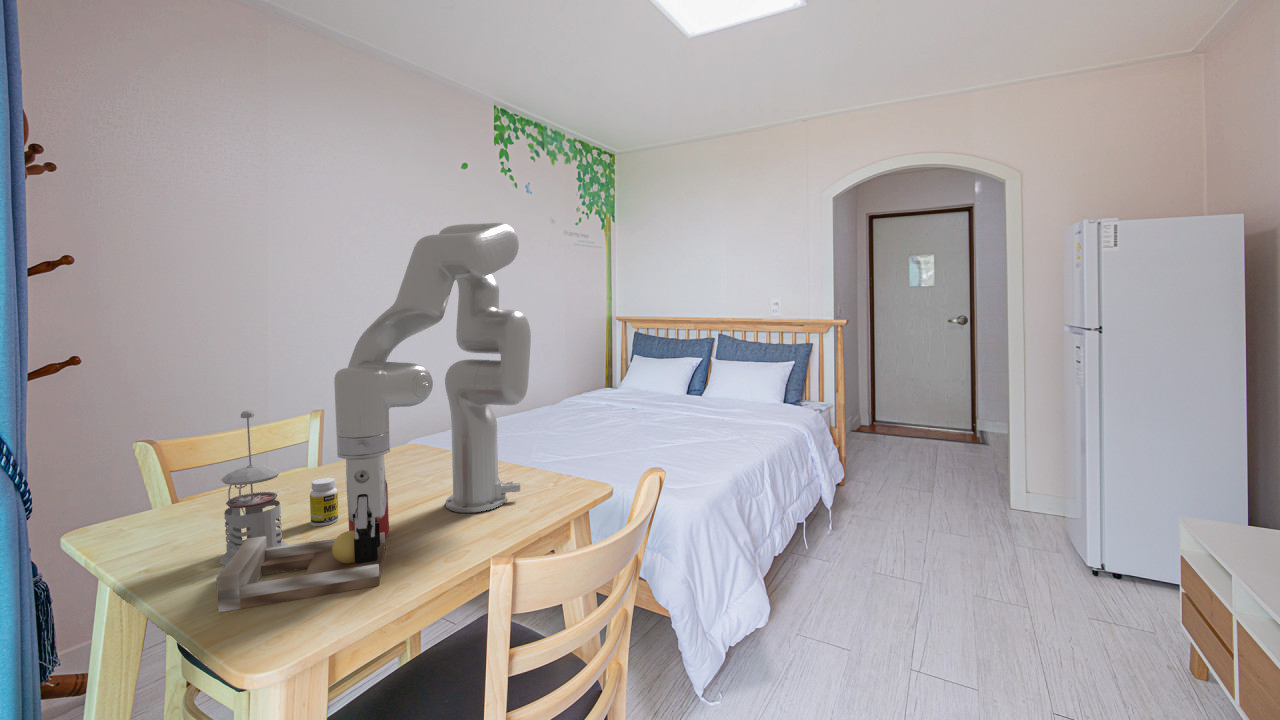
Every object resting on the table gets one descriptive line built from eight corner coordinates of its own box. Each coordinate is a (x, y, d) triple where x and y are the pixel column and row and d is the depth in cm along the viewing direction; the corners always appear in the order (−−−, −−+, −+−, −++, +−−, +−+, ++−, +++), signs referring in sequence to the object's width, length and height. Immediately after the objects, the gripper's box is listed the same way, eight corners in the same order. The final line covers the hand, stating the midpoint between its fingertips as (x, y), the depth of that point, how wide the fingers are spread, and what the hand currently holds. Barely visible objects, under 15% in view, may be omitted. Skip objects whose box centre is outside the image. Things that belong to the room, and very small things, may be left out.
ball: (372, 548, 89) (364, 521, 88) (369, 562, 85) (361, 534, 84) (339, 559, 88) (330, 531, 87) (334, 574, 83) (325, 545, 82)
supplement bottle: (325, 527, 104) (323, 485, 103) (305, 525, 104) (303, 483, 104) (344, 518, 108) (342, 477, 108) (324, 516, 109) (322, 476, 108)
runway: (385, 548, 94) (384, 521, 94) (379, 585, 81) (377, 553, 81) (249, 568, 87) (247, 538, 86) (218, 612, 74) (216, 577, 73)
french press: (235, 571, 86) (226, 418, 84) (204, 555, 92) (194, 411, 90) (300, 548, 94) (293, 408, 92) (267, 535, 100) (260, 403, 98)
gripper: (386, 454, 79) (390, 573, 80) (392, 432, 94) (395, 532, 96) (328, 459, 76) (334, 582, 77) (344, 435, 92) (348, 538, 93)
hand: (368, 553), depth 87 cm, fingers open, 4 cm apart
